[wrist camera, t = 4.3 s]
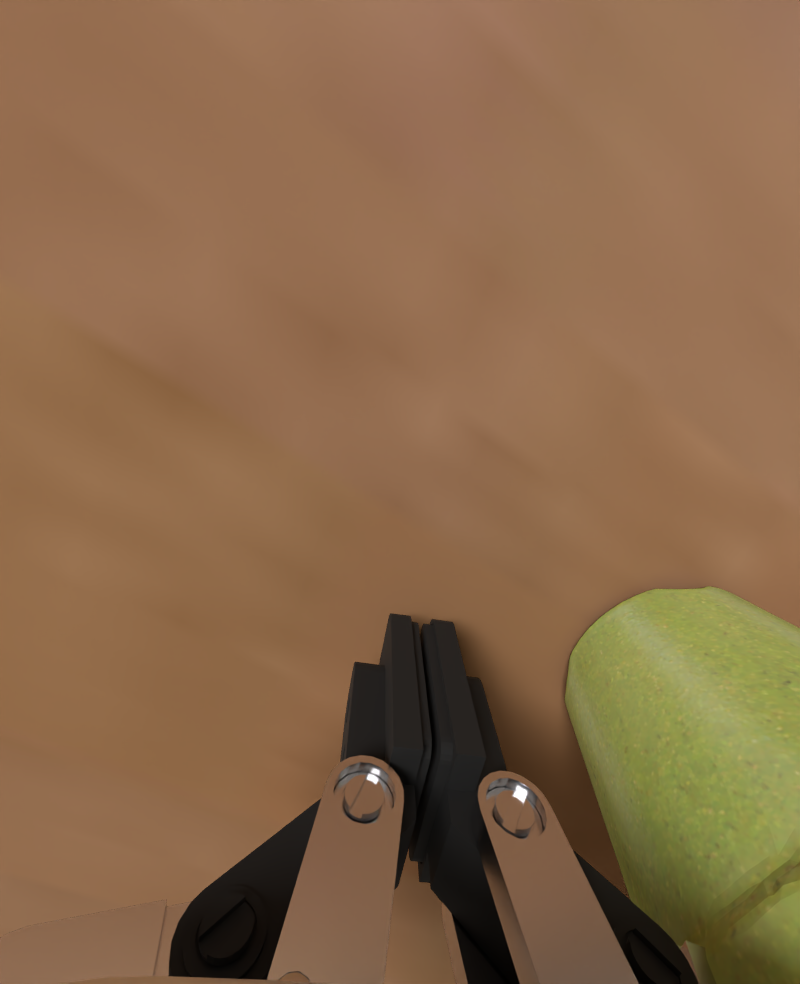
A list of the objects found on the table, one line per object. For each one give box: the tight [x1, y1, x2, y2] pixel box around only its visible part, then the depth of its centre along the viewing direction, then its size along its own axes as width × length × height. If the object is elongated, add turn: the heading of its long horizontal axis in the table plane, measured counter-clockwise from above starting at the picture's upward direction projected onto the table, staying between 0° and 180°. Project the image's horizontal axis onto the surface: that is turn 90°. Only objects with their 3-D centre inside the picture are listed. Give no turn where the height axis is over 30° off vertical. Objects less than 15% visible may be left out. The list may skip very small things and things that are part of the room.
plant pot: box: [565, 586, 800, 984], centre depth 9 cm, size 9×9×9 cm
